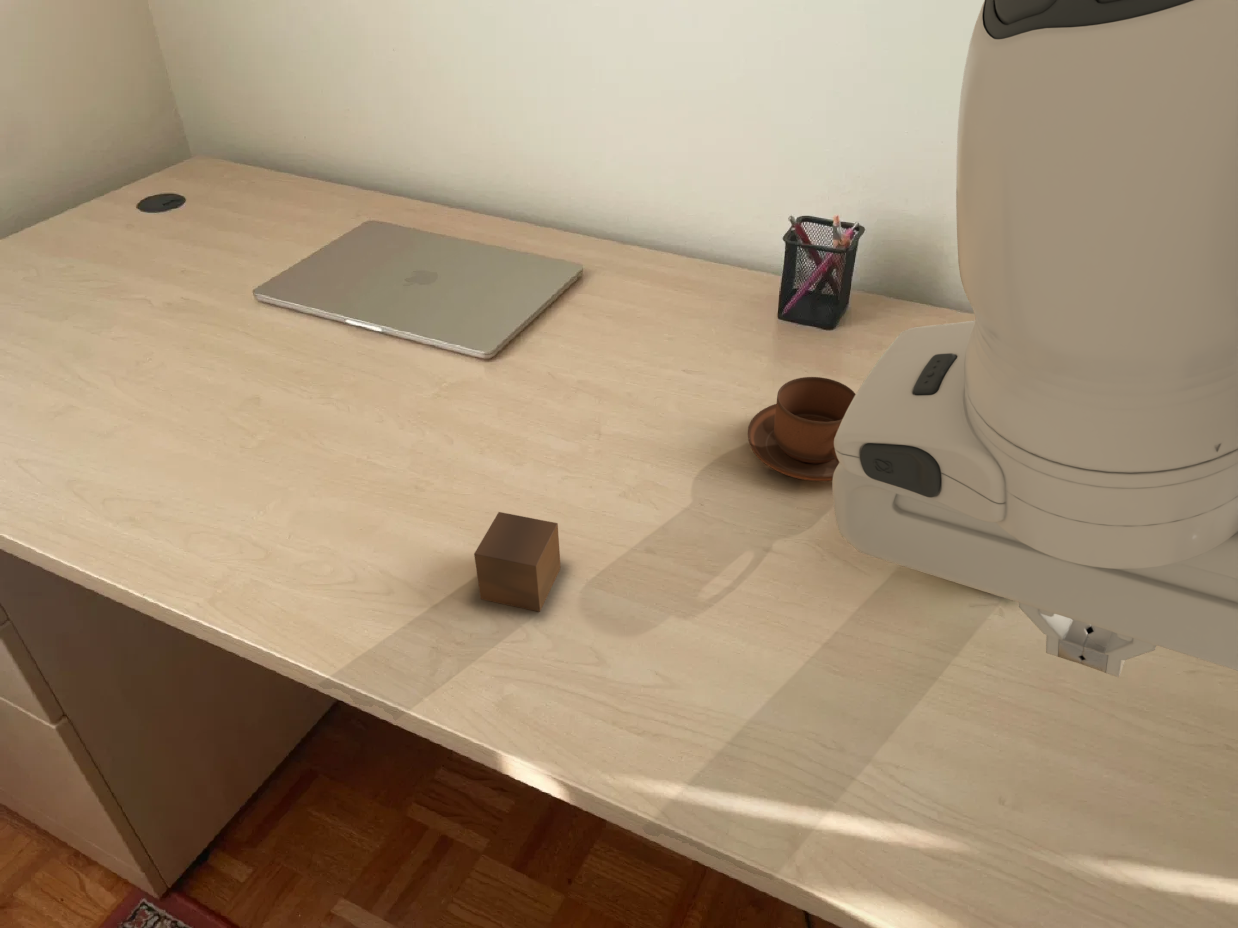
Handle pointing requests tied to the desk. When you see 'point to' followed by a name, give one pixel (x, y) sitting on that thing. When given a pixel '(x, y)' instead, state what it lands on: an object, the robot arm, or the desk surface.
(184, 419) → the desk surface
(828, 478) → the cup and saucer
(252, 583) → the desk surface
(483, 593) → the walnut block
